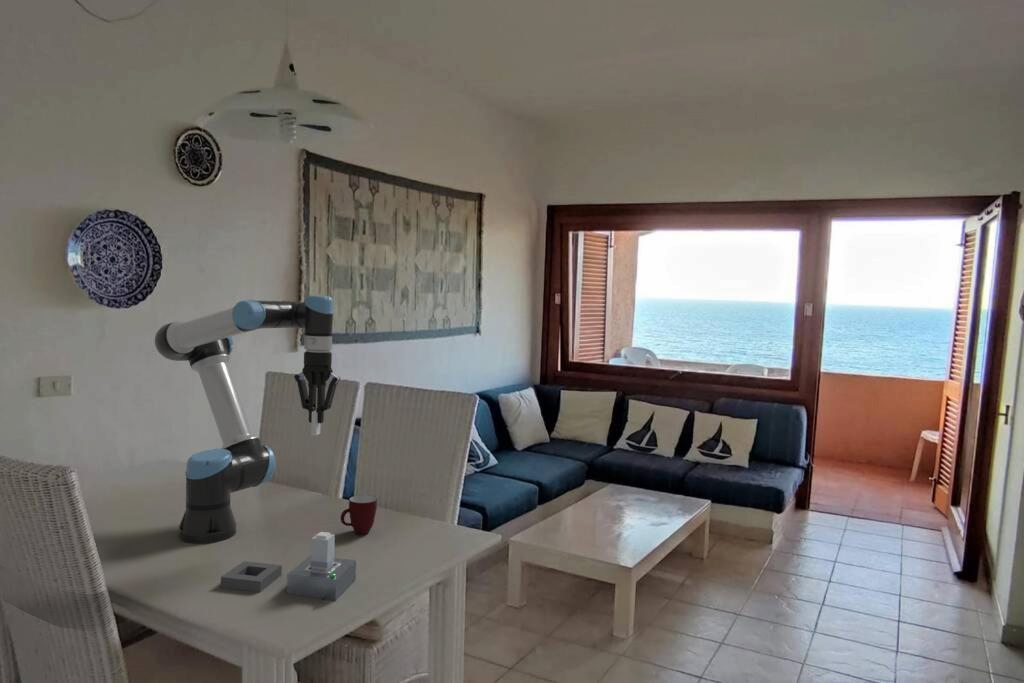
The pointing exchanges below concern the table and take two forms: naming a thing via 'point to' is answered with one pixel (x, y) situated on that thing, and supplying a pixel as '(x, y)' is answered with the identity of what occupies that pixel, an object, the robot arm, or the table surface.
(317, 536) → the plug
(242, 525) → the table surface
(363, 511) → the mug
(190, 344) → the robot arm
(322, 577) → the port
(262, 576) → the holster
